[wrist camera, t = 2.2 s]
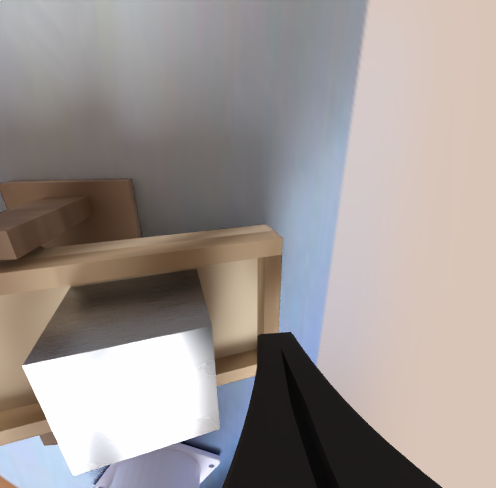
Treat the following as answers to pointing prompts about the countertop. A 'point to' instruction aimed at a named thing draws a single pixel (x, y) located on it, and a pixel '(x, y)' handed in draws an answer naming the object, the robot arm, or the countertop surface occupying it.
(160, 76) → the countertop surface
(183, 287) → the block
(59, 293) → the beam
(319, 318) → the countertop surface
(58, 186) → the stand
